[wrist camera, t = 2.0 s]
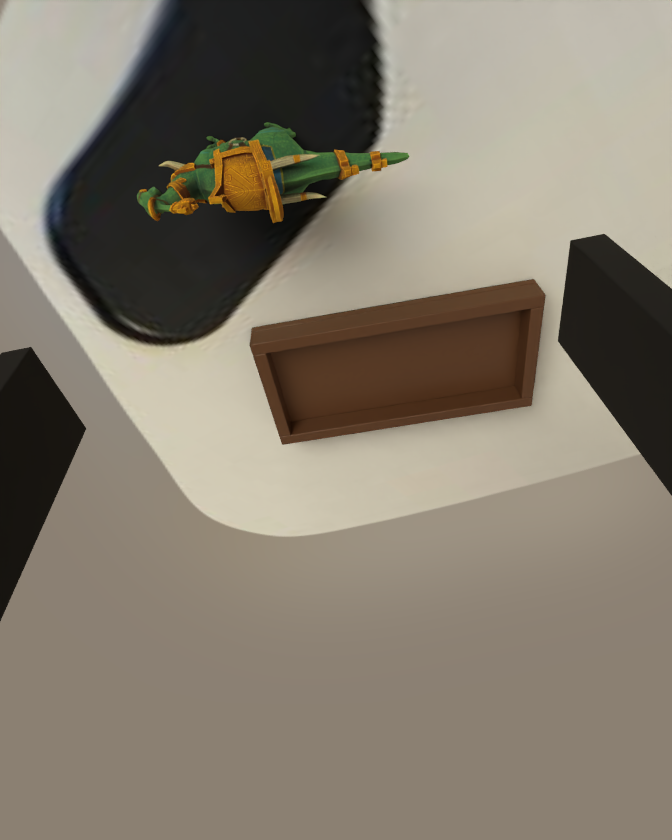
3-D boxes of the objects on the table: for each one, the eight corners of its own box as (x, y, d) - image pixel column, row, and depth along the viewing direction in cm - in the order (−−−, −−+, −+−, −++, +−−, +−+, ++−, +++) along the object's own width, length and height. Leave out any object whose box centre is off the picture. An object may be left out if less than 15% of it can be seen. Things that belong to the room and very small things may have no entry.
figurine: (145, 136, 25) (97, 192, 19) (391, 92, 24) (422, 136, 18) (168, 200, 27) (131, 270, 21) (395, 161, 26) (425, 221, 20)
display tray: (251, 327, 32) (249, 345, 31) (534, 278, 31) (546, 294, 30) (282, 426, 38) (282, 445, 37) (522, 387, 37) (532, 405, 35)
